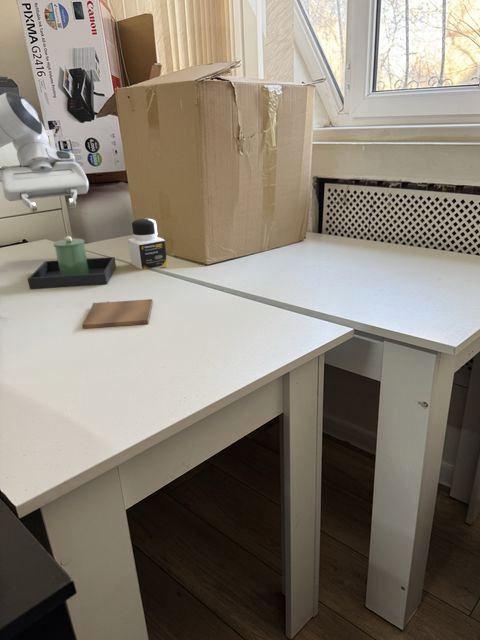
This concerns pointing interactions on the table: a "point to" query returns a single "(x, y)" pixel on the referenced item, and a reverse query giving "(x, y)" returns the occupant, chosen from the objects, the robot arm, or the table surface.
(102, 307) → the wooden coaster
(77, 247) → the green pot
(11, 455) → the table surface
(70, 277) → the tray
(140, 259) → the medicine bottle
